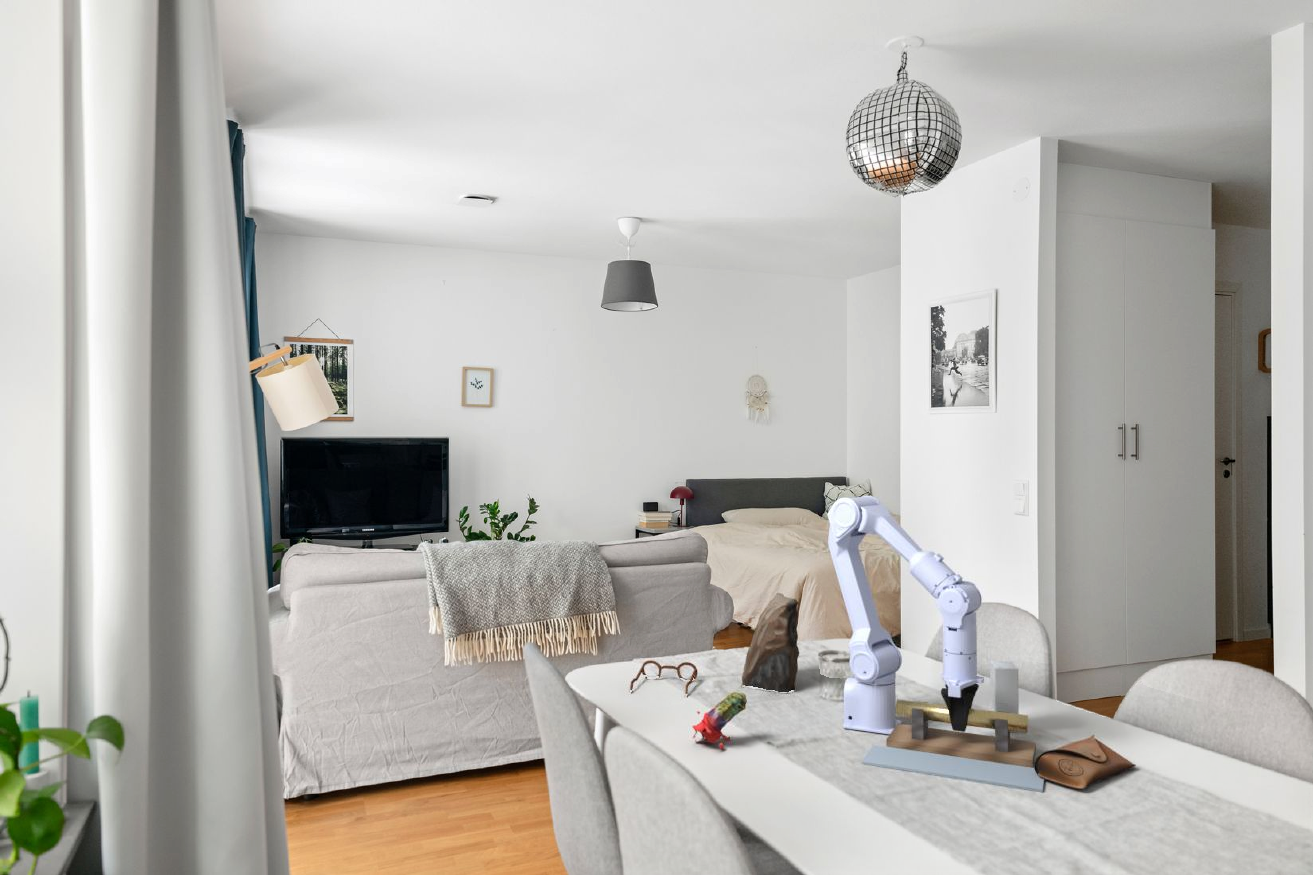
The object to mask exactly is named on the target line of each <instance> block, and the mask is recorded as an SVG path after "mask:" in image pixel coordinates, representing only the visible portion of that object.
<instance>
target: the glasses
mask: <svg viewBox="0 0 1313 875" xmlns="http://www.w3.org/2000/svg"><path fill="white" fill-rule="evenodd" d="M648 664H654V665H655V666H656V667H657V668H658V674H657V676H659V678H660V677H661V675H662V670H663V669H668V670H676V672H677V676H678V678H679V679H680V678H684V677H683V676H682V675H681V671H680V670H681V668H682V667H684V666H690V667H692V668H693V672H692V674H691V676H690V678H689V679H690V681H689V682H686V684H685V690H684V692H685V693H684V695H685V694H688V692H689V686H690V685H691V684H692V683H693V681H692V680H693V678H694V679H695V680H697V677H698V669H697V667H696V665H695V664H693V663H692V662H689V661H688V662H687V661H686V662H684V661H683V662H681V663H679V664H678V666H676V665H667V664H666V665H661V664H660V663H659V662H657V661H656V660H645V661H644V662H643V664H642V665H641V667H640V669H639V671H638V673H637V675H636V677H635V678H632V680H631V681H630V686H629V691H630V690H632V689H633V688H634V683H635V682H637V681H638V680H639V678H640V676H641V675H642V676H643V675H647V674H646V671H645V666H647V665H648ZM632 691H633V690H632Z"/></svg>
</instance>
